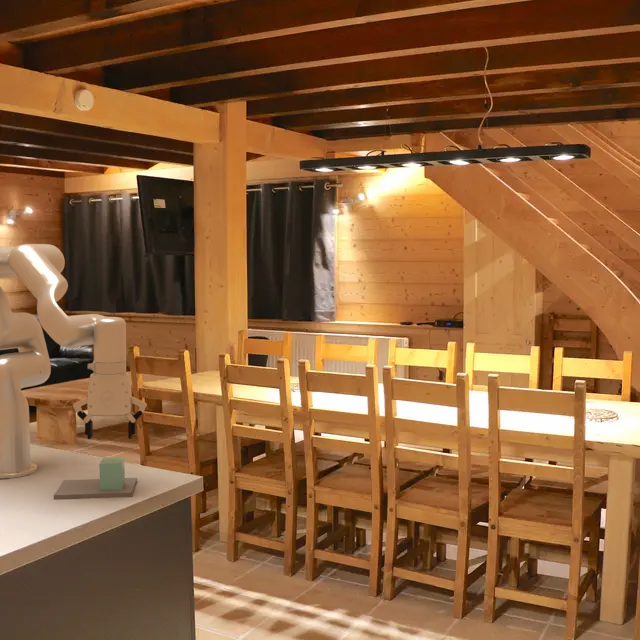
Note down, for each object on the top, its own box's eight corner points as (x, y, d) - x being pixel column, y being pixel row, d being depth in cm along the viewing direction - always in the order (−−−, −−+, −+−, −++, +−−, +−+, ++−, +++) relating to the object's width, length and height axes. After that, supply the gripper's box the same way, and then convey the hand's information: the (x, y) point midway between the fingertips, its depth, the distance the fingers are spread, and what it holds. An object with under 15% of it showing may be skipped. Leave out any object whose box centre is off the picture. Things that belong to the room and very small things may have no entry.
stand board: (53, 499, 180) (53, 495, 180) (64, 484, 192) (63, 480, 192) (131, 496, 183) (131, 492, 182) (137, 481, 194) (136, 477, 194)
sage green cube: (99, 490, 184) (99, 463, 183) (103, 483, 189) (102, 457, 188) (122, 489, 184) (121, 463, 184) (124, 483, 190) (124, 457, 189)
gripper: (70, 370, 179) (70, 442, 181) (145, 370, 182) (145, 441, 183) (76, 365, 187) (76, 434, 188) (148, 365, 189) (148, 433, 191)
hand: (110, 437), depth 186 cm, fingers open, 9 cm apart
